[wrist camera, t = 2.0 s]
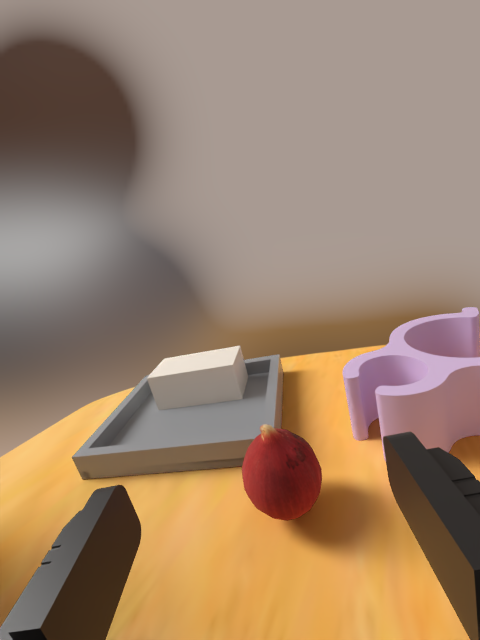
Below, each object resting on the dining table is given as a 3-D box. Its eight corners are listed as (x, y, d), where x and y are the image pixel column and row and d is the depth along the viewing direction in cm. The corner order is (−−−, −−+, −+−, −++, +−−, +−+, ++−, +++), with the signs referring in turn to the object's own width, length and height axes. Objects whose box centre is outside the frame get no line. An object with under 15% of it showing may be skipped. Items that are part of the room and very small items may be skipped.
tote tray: (82, 479, 34) (71, 457, 33) (151, 391, 50) (145, 375, 50) (279, 463, 29) (273, 436, 28) (283, 372, 46) (279, 354, 45)
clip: (435, 499, 22) (429, 419, 20) (326, 419, 33) (315, 363, 32) (586, 391, 28) (591, 321, 26) (451, 354, 40) (448, 304, 38)
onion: (313, 472, 27) (296, 394, 25) (341, 533, 21) (323, 438, 19) (249, 492, 27) (226, 414, 24) (262, 558, 21) (233, 465, 19)
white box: (158, 410, 42) (146, 378, 41) (173, 387, 48) (164, 358, 46) (242, 399, 39) (232, 364, 38) (248, 376, 45) (240, 345, 44)
